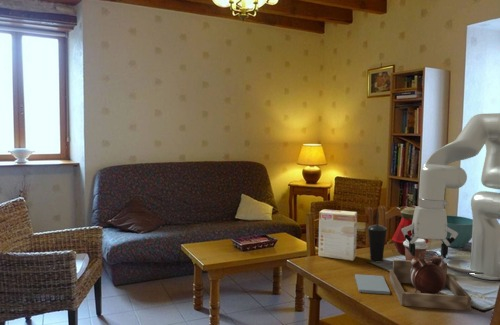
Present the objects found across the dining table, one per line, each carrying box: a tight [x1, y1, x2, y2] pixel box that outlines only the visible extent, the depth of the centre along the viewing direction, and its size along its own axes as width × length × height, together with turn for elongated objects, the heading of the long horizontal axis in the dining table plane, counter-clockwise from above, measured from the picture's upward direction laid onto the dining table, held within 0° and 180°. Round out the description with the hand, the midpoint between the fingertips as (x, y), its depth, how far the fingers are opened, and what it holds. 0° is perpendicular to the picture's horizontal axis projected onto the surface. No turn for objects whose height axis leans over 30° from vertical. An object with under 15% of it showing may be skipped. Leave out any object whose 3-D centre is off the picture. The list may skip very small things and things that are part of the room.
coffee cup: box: [403, 238, 429, 261], centre depth 155 cm, size 9×9×12 cm
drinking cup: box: [367, 212, 388, 262], centre depth 165 cm, size 8×8×20 cm
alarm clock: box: [410, 250, 446, 294], centre depth 131 cm, size 11×5×15 cm, turn 91°
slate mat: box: [354, 273, 391, 295], centre depth 139 cm, size 10×14×1 cm
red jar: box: [391, 206, 429, 256], centre depth 174 cm, size 16×14×20 cm
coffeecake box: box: [317, 208, 358, 261], centre depth 169 cm, size 15×7×20 cm, turn 66°
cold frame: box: [389, 259, 472, 312], centre depth 131 cm, size 20×20×8 cm
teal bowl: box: [440, 214, 473, 249], centre depth 187 cm, size 18×18×12 cm
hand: (427, 255), depth 130 cm, fingers open, 9 cm apart
